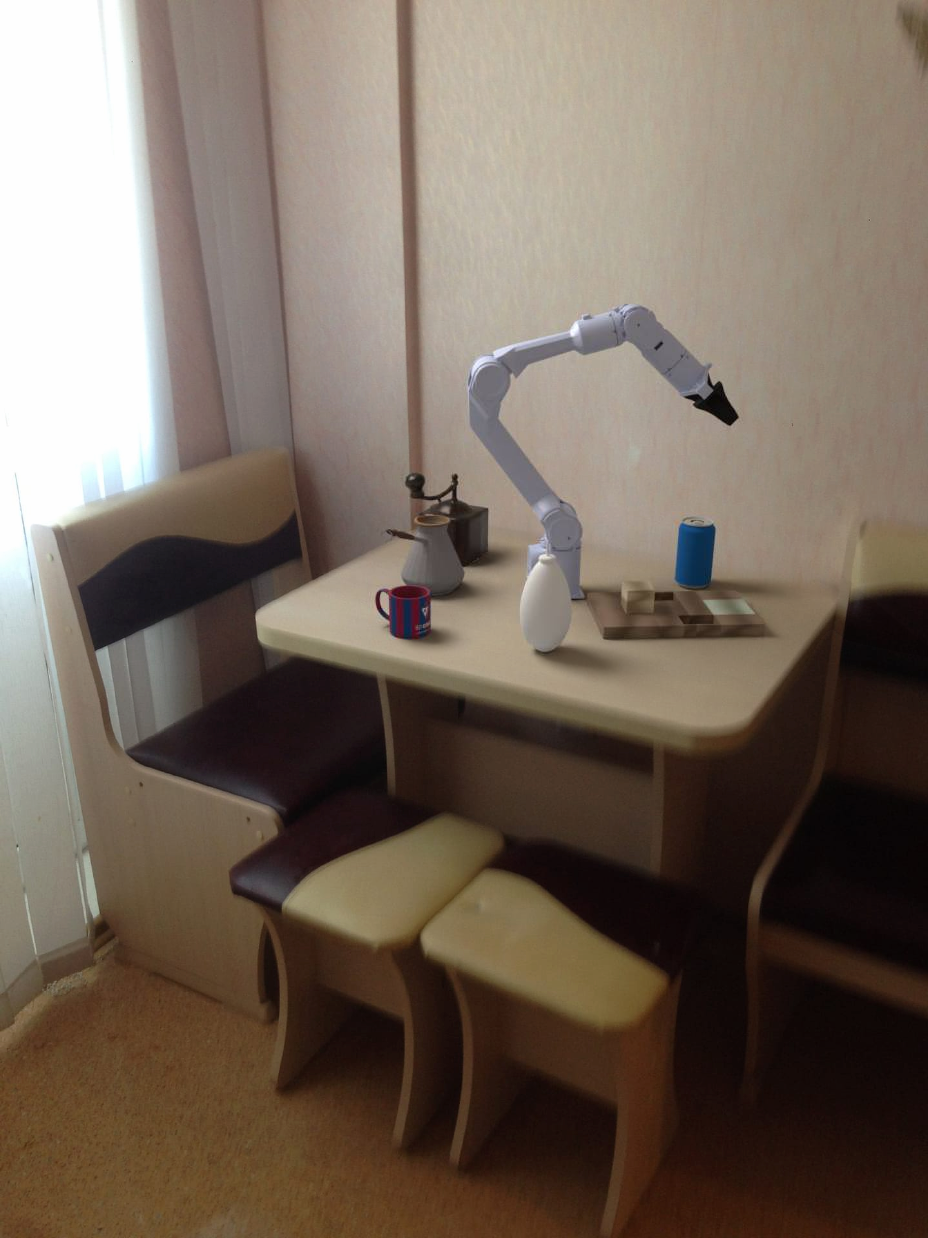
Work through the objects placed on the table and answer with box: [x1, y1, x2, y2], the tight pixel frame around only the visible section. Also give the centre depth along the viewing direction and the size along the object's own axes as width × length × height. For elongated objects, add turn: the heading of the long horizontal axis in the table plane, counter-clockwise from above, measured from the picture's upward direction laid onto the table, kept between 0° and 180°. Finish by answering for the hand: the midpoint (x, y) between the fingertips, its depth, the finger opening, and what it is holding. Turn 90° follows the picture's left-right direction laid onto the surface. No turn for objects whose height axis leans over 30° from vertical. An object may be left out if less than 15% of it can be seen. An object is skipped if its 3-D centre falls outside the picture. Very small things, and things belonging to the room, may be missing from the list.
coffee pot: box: [379, 515, 466, 597], centre depth 187 cm, size 21×12×15 cm, turn 152°
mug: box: [374, 584, 432, 640], centre depth 175 cm, size 7×10×7 cm
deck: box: [586, 589, 765, 640], centre depth 180 cm, size 26×16×2 cm, turn 93°
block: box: [621, 580, 656, 614], centre depth 178 cm, size 4×4×4 cm
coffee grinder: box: [404, 472, 489, 567], centre depth 206 cm, size 16×11×18 cm
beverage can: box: [674, 516, 717, 590], centre depth 194 cm, size 6×6×12 cm
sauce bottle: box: [519, 540, 573, 653], centre depth 165 cm, size 8×8×18 cm
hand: (728, 416), depth 181 cm, fingers open, 7 cm apart
